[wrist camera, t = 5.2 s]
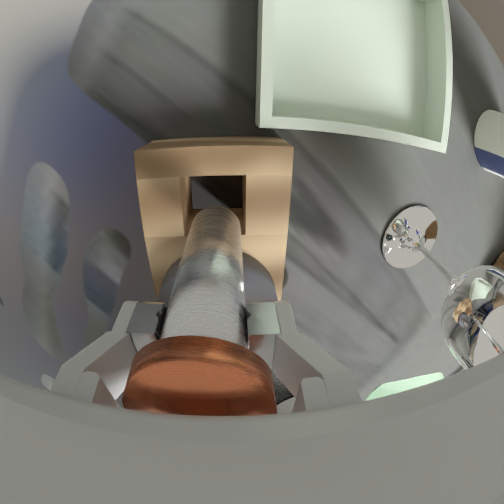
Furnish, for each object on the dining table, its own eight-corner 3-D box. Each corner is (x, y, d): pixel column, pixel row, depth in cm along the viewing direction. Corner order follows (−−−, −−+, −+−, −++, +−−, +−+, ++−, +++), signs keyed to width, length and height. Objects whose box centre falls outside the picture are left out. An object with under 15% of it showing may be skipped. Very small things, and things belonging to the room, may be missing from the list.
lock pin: (250, 258, 17) (271, 442, 7) (184, 259, 17) (146, 438, 7) (252, 195, 15) (285, 375, 5) (178, 196, 15) (98, 369, 5)
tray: (422, 144, 21) (445, 153, 18) (254, 124, 20) (259, 127, 17) (425, 0, 13) (446, -6, 10) (259, -44, 12) (264, -63, 9)
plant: (330, 420, 48) (339, 456, 41) (401, 362, 40) (421, 403, 32) (397, 418, 56) (407, 445, 48) (455, 370, 47) (471, 398, 39)
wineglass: (396, 279, 29) (486, 423, 12) (368, 236, 26) (490, 409, 8) (443, 238, 27) (552, 359, 9) (423, 189, 23) (574, 317, 6)
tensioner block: (270, 298, 29) (283, 368, 21) (173, 300, 28) (159, 370, 20) (280, 137, 20) (311, 159, 13) (153, 140, 20) (109, 166, 12)
